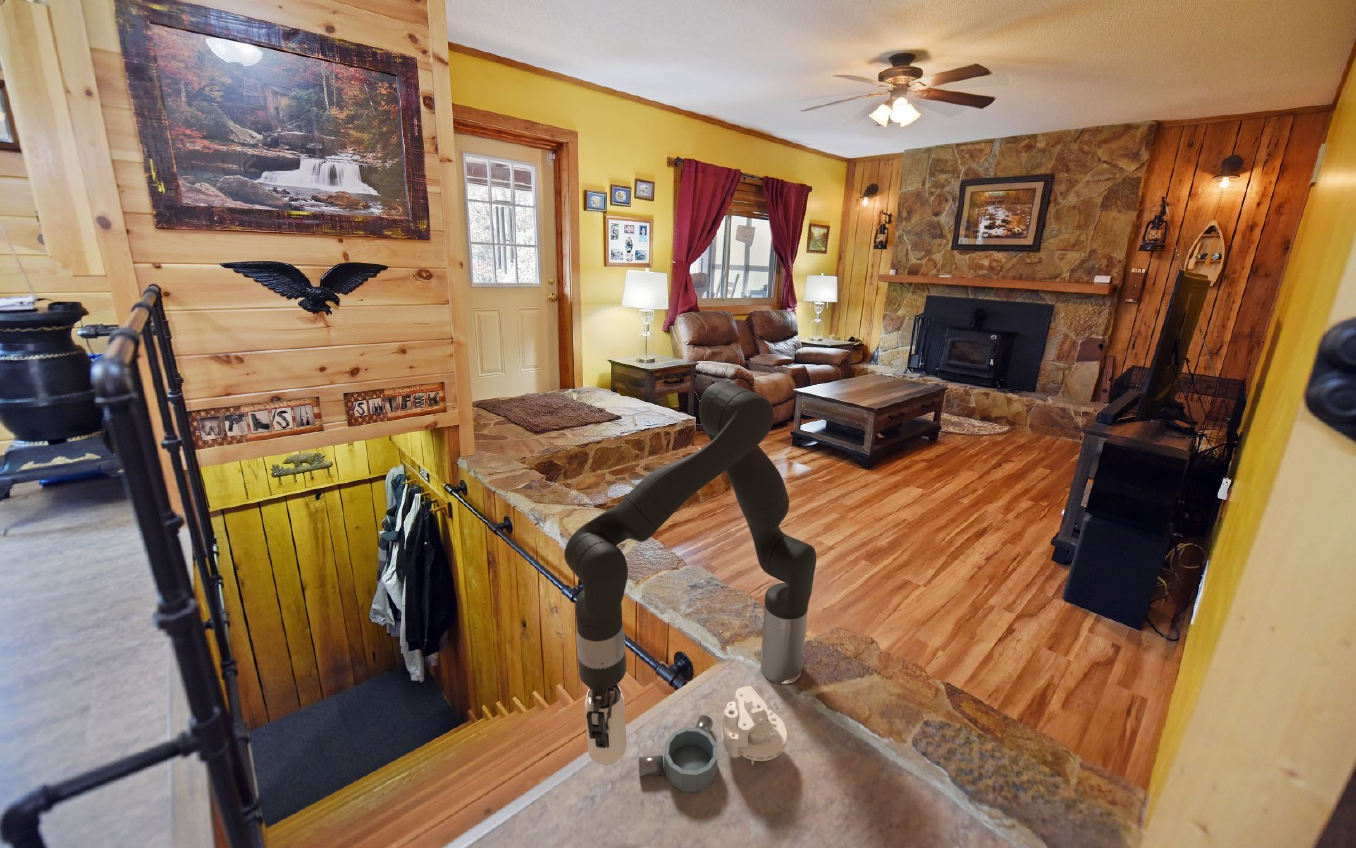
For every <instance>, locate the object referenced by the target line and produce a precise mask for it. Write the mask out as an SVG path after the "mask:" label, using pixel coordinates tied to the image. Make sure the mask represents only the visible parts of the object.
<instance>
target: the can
mask: <svg viewBox="0 0 1356 848" xmlns="http://www.w3.org/2000/svg"><path fill="white" fill-rule="evenodd" d="M589 690H590V688H589V689H588V690H587V693H586V698H585V700H584V711H585V712H584V716H585V717H584V718H585V727H586V728H585V729H586V739H587V740H586V741H587V749H588V750H587V751H588V755H589V757H590V759H591V760H592V761H593V762H594V763H596V764H597V765H603V766H606V765H607V766H609V765H612V764H615V763H616V762H618V761H620V760H621V759H622V758H623V756H624V755H625V753H626V751H627V731H626V730H627V727H626V726H627V725H626V723H627V722H626V706H625V698H624V694H623V693H622V690H621V688H620V685H617V688H615V696H614V698H613V705H612V716H611V718H610V719H608V723H609V727H610V729H609V732H608V734H609V748H607V746H606V748H597V747H596V742H595V739H590V736H589V729H588V723H587V717H586V715H587V712H588V711H590V704H591V700H590V698H589ZM608 706H609V705H608ZM608 706H607V707H605V708H603V707H601V712H604V714H605V719H606V718H607V713H608V708H610V707H608ZM592 707H594V706H592ZM606 743H607V741H606Z"/></svg>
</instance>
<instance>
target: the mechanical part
mask: <svg viewBox="0 0 1356 848" xmlns="http://www.w3.org/2000/svg"><path fill="white" fill-rule="evenodd" d="M734 696H735V697H734V701H728V702H727V703H726V708H725V709H724V710H723V717H722V726H721V727H722V729H721V738H722V743H723V745H724V746H723V747H724V750H725V751H726V752H727V754H728V755H729V756H731V757H732V758H733V759H734V758H740V757H741V756H742V757H743V758H745V759H748V760H751V763H750V764H751V765H752V766H753V765H755V762H765V761H766V762H767V761H770V760H773V759H775V758H778V756H779V755H781V754H782V753H783V751H784V749H785V748H786V744H787V737H788V736H787V729H786V725H785V723H784V722H783V720H782V719H781V718H780V716H779V715H777V713H775V712H774V711H773V710H771V709H768V705H767V704H766V702H765V701H764V700H763V699H762V698H761V696H760V695H759V694H758V693H757V691H755V689H754V688H753V687H752V686H751V685H746V686H742V687H739V688H737V690H736V691H735V693H734Z"/></svg>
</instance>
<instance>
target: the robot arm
mask: <svg viewBox="0 0 1356 848" xmlns="http://www.w3.org/2000/svg"><path fill="white" fill-rule="evenodd" d="M774 413H775V411H774V407H773V405H772V404H771V402H770V400H768V399H767V398H766V397H764V396H762V395H760V394H758V393H756V392H754V391H752V390H749V389H748V388H745V387H743V386H740V385H739V384H735V383H733V382H728V381H727V382H726V381H718V382H715V383H712V384H711V385H709V386H708V387H707V388H706V389H705V390H704V392H703V393H702V395H701V398H700V400H699V404H698V415H699V416H698V417H699V420H700V425H701V426H702V428H703V430H704V432H705V434H706V436H707V437H708V439H709V440H710V441H709V442H708V443H707V444H706V445H705V446H703V447H702V448H700V449H699V450H697V451H695V452H693V453H692V454H688V455H687V456H685V457H683V458H681V459H677V460H676V461H673V462H670V463H668V464H666V465H664V466H661V467H660V468H657V469H656V470H654V471H653V472H651V473H649V474H648V475H647V476H645V477H644V478H643V479H642V480H641V481H640V482H639V483H638V484H637V485H636V486H634V488H632V490H631V491H629V493H628V494H626V495H625V497H624V498H623V499H621V501H619V503H617V504H616V505H615V506H613V507H612V508H611V507H610V509H607V510H605V511H604V512H601V514H599V515H598V516H596V517H594V518H593V519H591V520H589V521H588V522H585V524H583V525H581V526H580V527H579V528H578V529H577V530H576V531H575V532H574V533H573V534H572V535H571V536H570V538H569V540H568V541H567V542H566V546H565V549H564V555H563V557H564V560H565V564H566V565H567V567H568V568H569V569H570V570H571V571H572V572H573V573H574V574H575V576H576V577H577V579H579V580H580V582H581V584H582V587H583V589H582V590H581V591H580V592H578V595H577V597H576V600H575V609H574V610H575V621H576V640H575V641H576V650H577V653H576V654H577V662H578V663H577V664H578V675H579V679H580V680H581V682H582V683H583V684H584V685H585V686H587V688H589V689H590V690H589V689H588V690H589V698H590V700H591V704H590V711H588V712H587V715H586V717H587V723H588V729H589V736H590V739H595V742H596V747H597V748H606V746H607V748H609V734H608V732H609V729H610V727H609V723H608V719H610V718H611V716H612V705H613V698H614V696H615V688H617V685H618V686H620V685H619V684H620V682H621V681H622V680H623V679H624V678H625V675H626V672H627V656H626V655H627V654H626V636H625V631H624V630H625V629H624V625H623V608H622V607H623V606H622V602H623V599H624V595H625V590H626V587H627V584H628V577H629V567H628V562H627V559H626V557H625V556H626V555H624V553H623V551H622V550H621V548H619V547H618V545H620V544H621V543H622V542H624V541H626V540H633V541H636V542H639V543H641V542H642V543H643V542H645V541H647V540H649V539H650V538H651V537H652V536H653V535H654V534H655V533H656V532H657V531H658V530H659V529H660V528H661V527H662V526H663V525H664V524H665V523H666V522H667V521H668V519H670V517H672V515H673V514H675V512H676V511H678V509H679V508H681V506H683V504H685V503H686V502H687V501H688V500H689V499H690V498H691V497H693V495H695V494H696V493H697V492H698V491H700V490H701V489H702V488H704V487H705V486H706V485H709V483H710V482H712V481H713V480H715V479H716V478H717V477H718V476H720V475H721V474H722V473H724V472H726V475H727V477H728V480H729V482H730V484H731V487H732V490H733V492H734V495H735V498H736V500H737V502H738V506H739V508H740V510H741V512H742V514H743V516H744V517H745V521H746V523H747V526H748V529H749V532H750V534H751V538H752V541H753V544H754V549H755V553H756V557H757V560H758V564H759V566H760V568H761V569H762V571H763V572H764V573H765V574H767V575H768V576H771V577H773V578H774V579H777V580H779V581H781V582H779V583H776V584H772V585H771V586H770V587H768V588H767V590H766V591H765V594H764V605H763V606H764V607H763V608H764V609H763V620H762V621H763V625H762V637H761V639H762V640H761V653H760V664H761V667H760V671H761V670H762V671H761V673H762V674H763V676H764V677H765V678H766V679H767V680H769V681H770V682H773V683H775V684H778V685H780V684H779V683H782V682H784V681H785V680H788V679H792V678H795V677H797V676H798V675H799V674H800V673H801V670H802V671H803V662H804V661H803V660H804V652H805V643H806V642H805V641H806V631H807V623H808V621H807V619H808V610H809V603H810V600H811V596H812V591H813V583H814V578H815V571H816V567H817V566H816V564H817V551H816V549H815V547H814V546H813V545H811V544H809V543H807V542H804V541H802V540H800V539H798V538H794V537H792V536H790V535H788V534H786V533H784V532H783V531H782V530H781V528H780V524H781V523H782V522H783V521H784V520H785V518H786V516H787V515H788V512H789V509H790V498H789V494H788V491H787V488H786V484H785V481H784V479H783V477H782V475H781V473H780V471H779V469H778V468H777V466H776V465H775V464H774V463H773V461H772V460H771V458H769V456H768V455H767V454H766V453H765V451H764V450H763V449H762V448H761V447H760V443H762V442H763V441H764V440H765V438H766V437H767V436H768V434H769V432H770V431H771V429H772V427H773V424H774V420H775V414H774ZM801 674H802V673H801ZM608 705H609V706H608ZM592 706H594V707H592ZM607 706H608V707H610V708H608V713H607V718H606V719H605V714H604V712H601V707H603V708H605V707H607ZM586 717H585V718H586ZM606 741H607V743H606Z"/></svg>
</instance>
